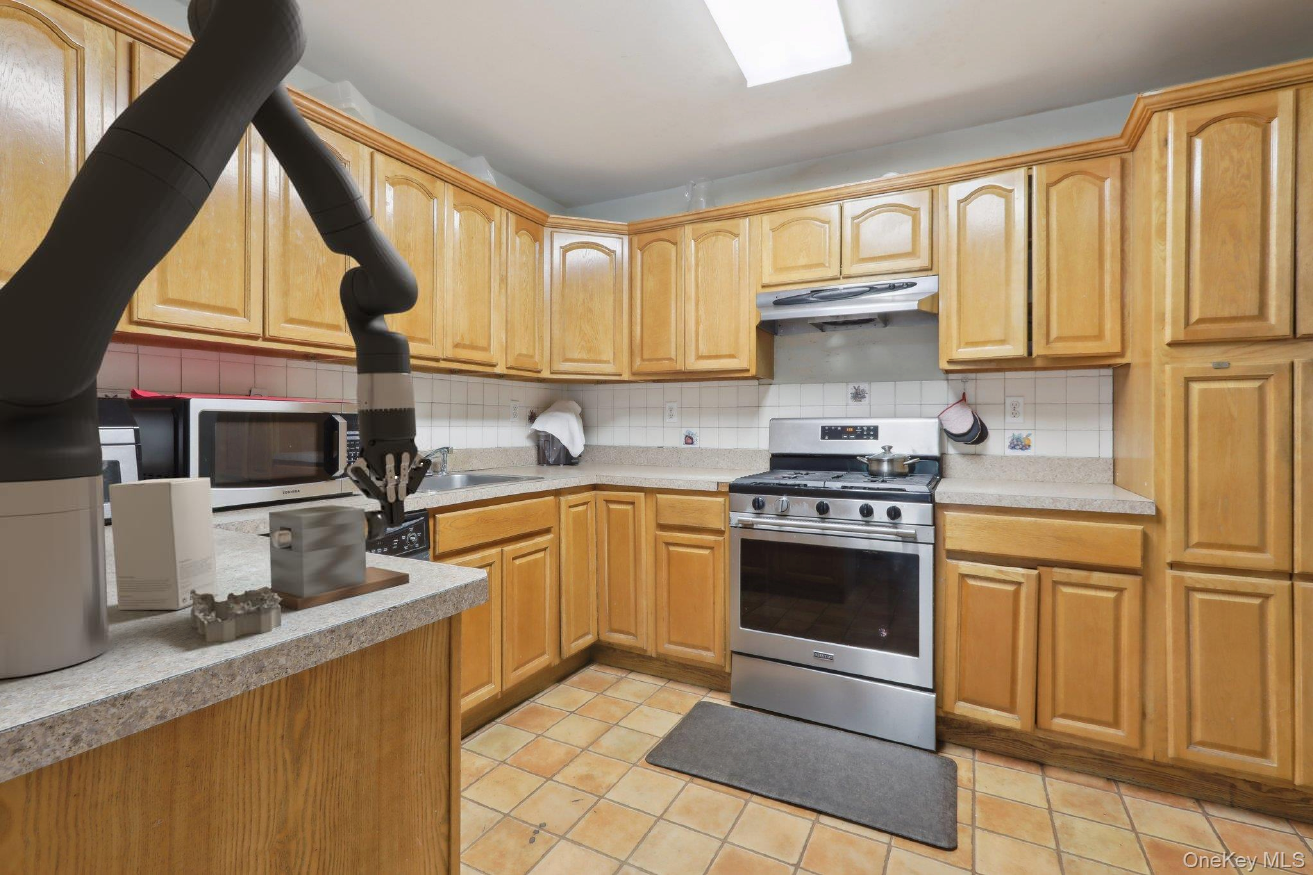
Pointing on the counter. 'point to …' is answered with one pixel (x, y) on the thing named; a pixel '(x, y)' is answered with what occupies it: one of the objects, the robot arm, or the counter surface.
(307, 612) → the counter surface
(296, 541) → the bearing block
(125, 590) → the skincare box
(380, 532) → the shaft
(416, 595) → the counter surface
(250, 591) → the egg carton
